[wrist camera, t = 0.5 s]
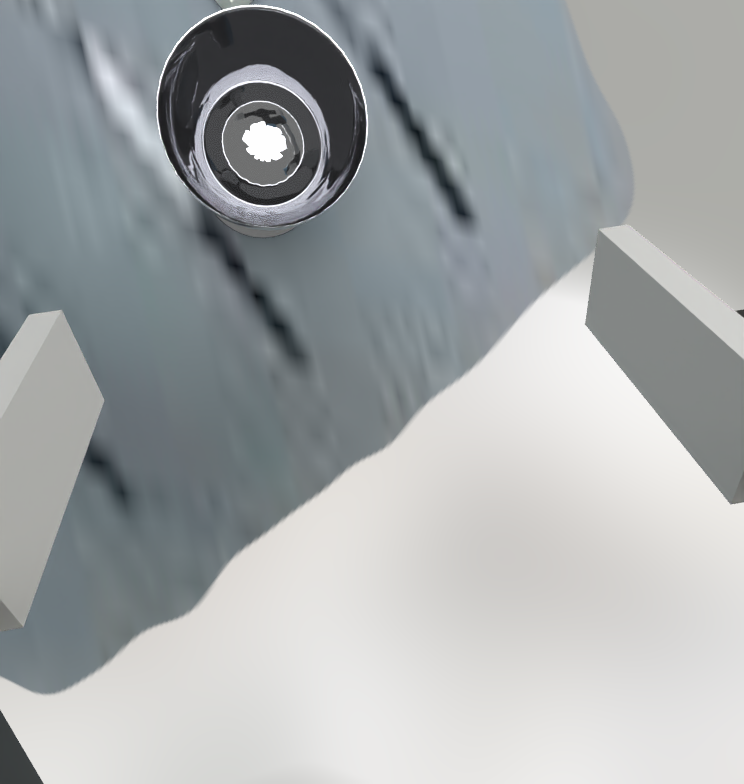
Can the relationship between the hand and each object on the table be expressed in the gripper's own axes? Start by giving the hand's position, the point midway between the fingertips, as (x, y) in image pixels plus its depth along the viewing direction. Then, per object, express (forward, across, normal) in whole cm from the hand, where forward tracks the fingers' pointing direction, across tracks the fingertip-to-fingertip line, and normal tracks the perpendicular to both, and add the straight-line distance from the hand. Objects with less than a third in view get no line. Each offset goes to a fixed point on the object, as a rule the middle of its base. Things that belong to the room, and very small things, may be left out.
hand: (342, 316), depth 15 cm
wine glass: (+25, -3, -4) cm, 26 cm away
